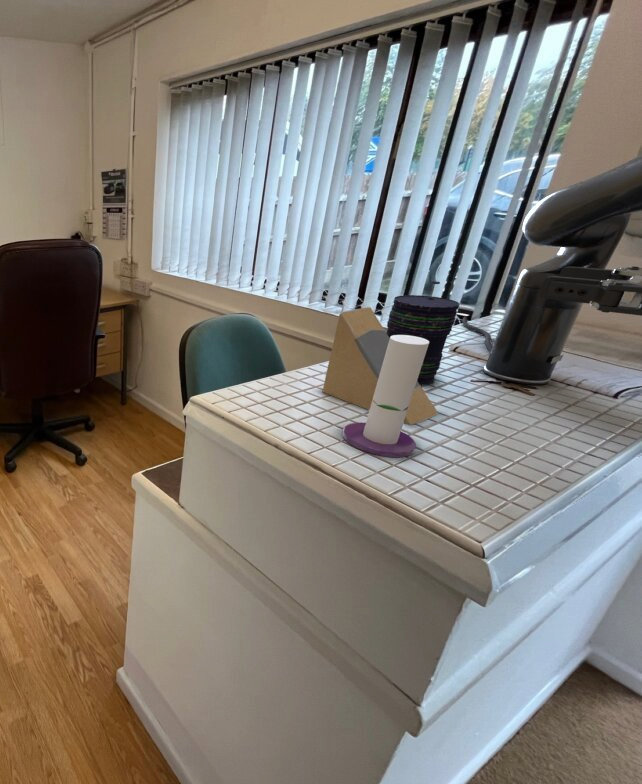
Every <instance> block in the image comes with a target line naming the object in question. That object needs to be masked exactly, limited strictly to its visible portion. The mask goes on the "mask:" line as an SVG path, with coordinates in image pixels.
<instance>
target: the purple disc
mask: <svg viewBox="0 0 642 784" xmlns="http://www.w3.org/2000/svg"><path fill="white" fill-rule="evenodd" d="M365 424H366V422H352V423H349V424H347V425H345V426H344V428H343V430H342V438H343V439H344V441H346V442H347V443H348V444H349V445H351V446H352V447H355V448H356V449H358V450H360V451H363V452H366V453H369V454H371V455H372V454H373V455H376V456H381V457H388V458H405V457H409V456H411V455H412V454H414V453H415V451H416V447H417V442H416V441H415V440H414V439H413V438H412V436H410V435H409V434H407V433H406V432H404V431H401V432H400V435H399V438H398V441H397V443H395V444H381V443H377V442H374V441H371V440H369V439H367V438H366V437H365V436H364V435H363V431H364V428H365Z"/></svg>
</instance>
